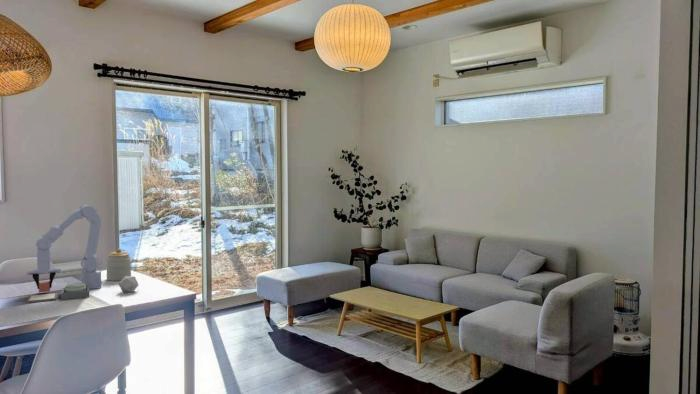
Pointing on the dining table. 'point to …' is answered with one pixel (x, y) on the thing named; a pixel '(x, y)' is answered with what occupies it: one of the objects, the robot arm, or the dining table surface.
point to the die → (128, 284)
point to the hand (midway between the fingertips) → (44, 288)
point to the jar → (118, 265)
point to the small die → (44, 286)
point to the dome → (75, 287)
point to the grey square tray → (74, 294)
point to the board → (42, 297)
